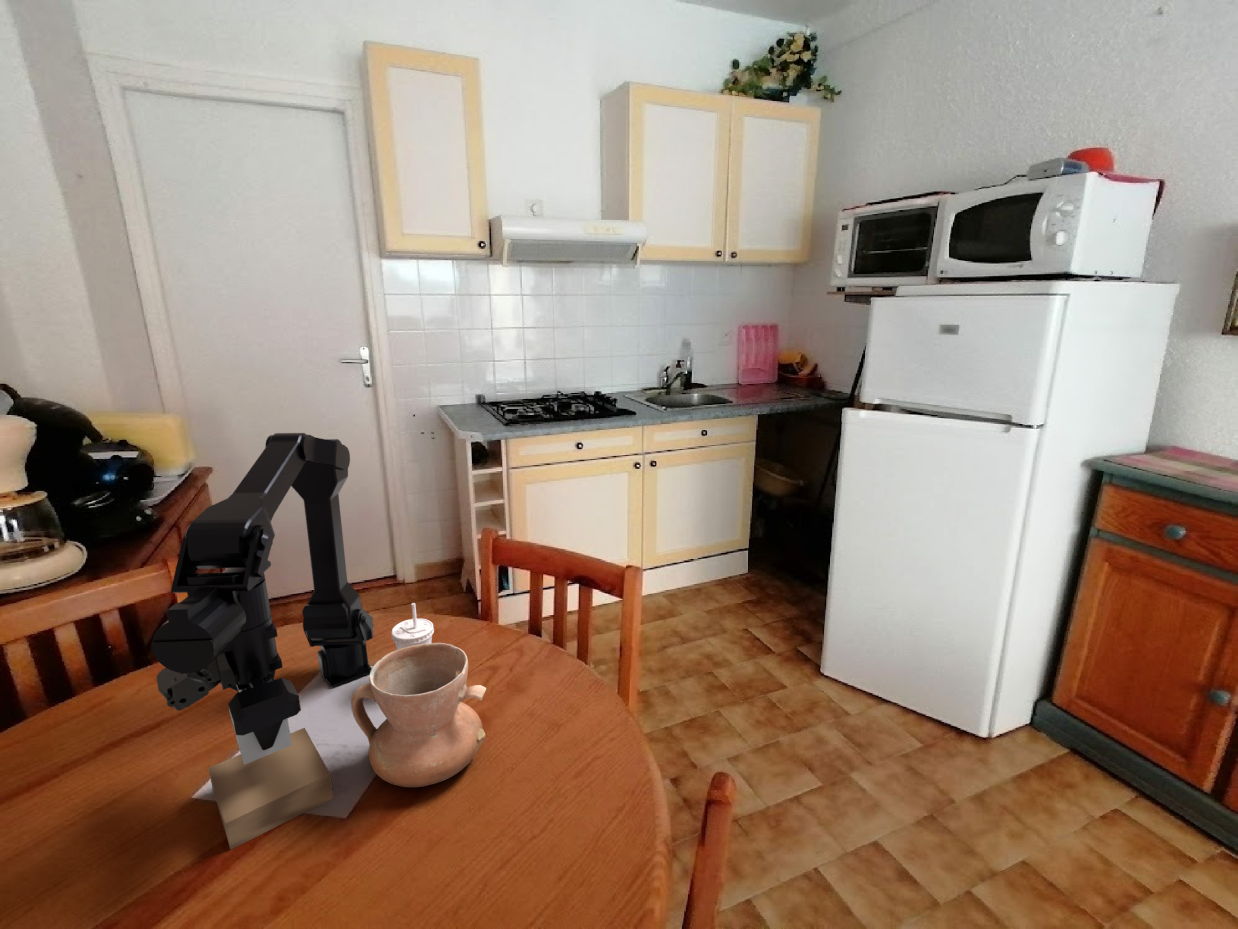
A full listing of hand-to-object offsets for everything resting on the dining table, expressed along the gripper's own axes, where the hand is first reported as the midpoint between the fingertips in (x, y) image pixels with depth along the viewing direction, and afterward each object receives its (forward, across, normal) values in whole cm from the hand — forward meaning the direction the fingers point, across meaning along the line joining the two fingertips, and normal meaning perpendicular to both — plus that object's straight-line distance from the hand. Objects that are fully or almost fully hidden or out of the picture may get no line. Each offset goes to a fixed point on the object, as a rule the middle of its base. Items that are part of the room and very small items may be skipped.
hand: (263, 736), depth 72 cm
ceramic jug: (+9, +6, +17) cm, 20 cm away
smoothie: (+9, -11, +23) cm, 27 cm away
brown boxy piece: (+9, 0, 0) cm, 9 cm away
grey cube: (+1, 0, 0) cm, 1 cm away
